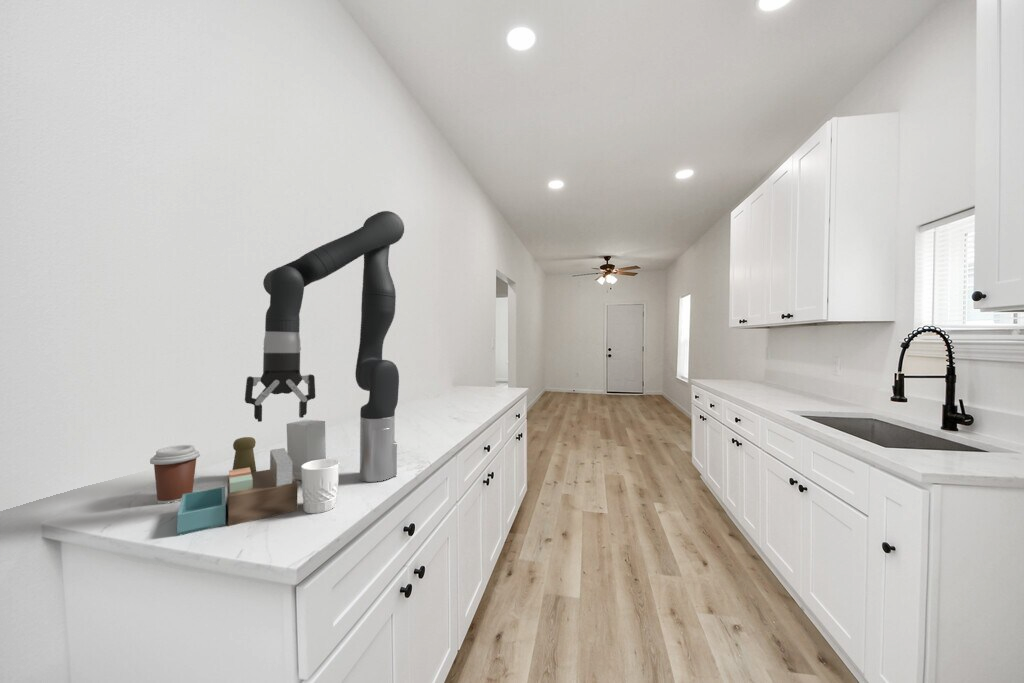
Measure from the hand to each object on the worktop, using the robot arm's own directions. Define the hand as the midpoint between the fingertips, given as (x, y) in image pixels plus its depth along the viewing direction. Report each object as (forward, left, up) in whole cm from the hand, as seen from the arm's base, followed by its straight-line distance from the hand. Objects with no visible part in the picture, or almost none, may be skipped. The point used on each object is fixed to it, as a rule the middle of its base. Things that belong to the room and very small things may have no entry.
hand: (280, 419), depth 91 cm
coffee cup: (+20, -17, -20) cm, 33 cm away
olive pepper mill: (+6, -25, -20) cm, 33 cm away
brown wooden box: (+4, 0, -20) cm, 20 cm away
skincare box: (-8, -15, -20) cm, 26 cm away
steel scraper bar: (0, 0, -14) cm, 14 cm away
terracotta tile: (+8, -3, -14) cm, 16 cm away
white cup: (-7, +9, -20) cm, 23 cm away
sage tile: (+8, +3, -14) cm, 16 cm away
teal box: (+14, 0, -20) cm, 24 cm away
